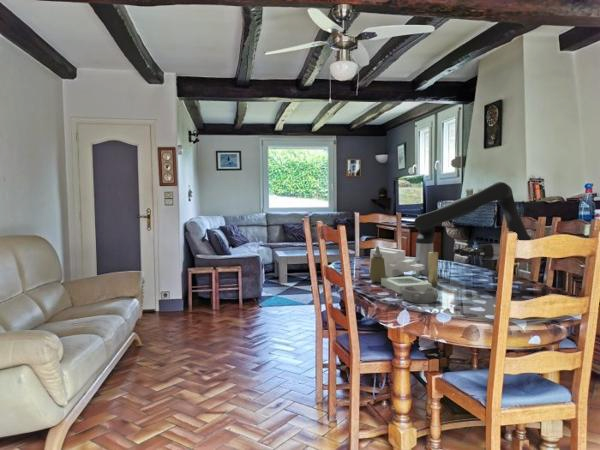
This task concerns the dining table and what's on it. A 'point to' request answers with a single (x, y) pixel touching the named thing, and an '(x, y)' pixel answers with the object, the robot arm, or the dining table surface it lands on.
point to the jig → (404, 283)
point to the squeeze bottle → (377, 266)
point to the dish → (419, 295)
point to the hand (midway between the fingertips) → (457, 252)
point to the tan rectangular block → (433, 268)
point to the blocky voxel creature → (396, 262)
